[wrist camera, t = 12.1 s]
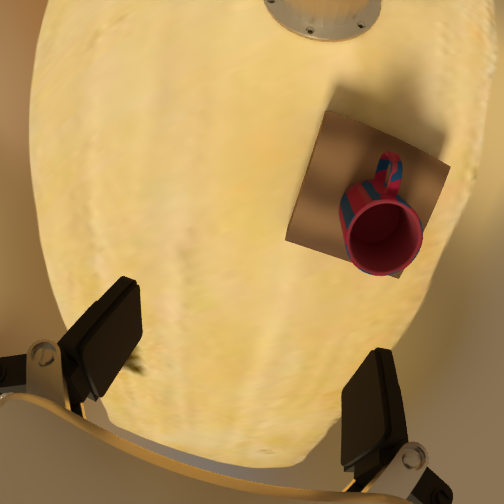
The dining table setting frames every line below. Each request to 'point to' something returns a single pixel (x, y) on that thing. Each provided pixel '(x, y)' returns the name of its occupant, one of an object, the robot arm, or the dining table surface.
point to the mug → (380, 222)
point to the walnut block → (356, 181)
